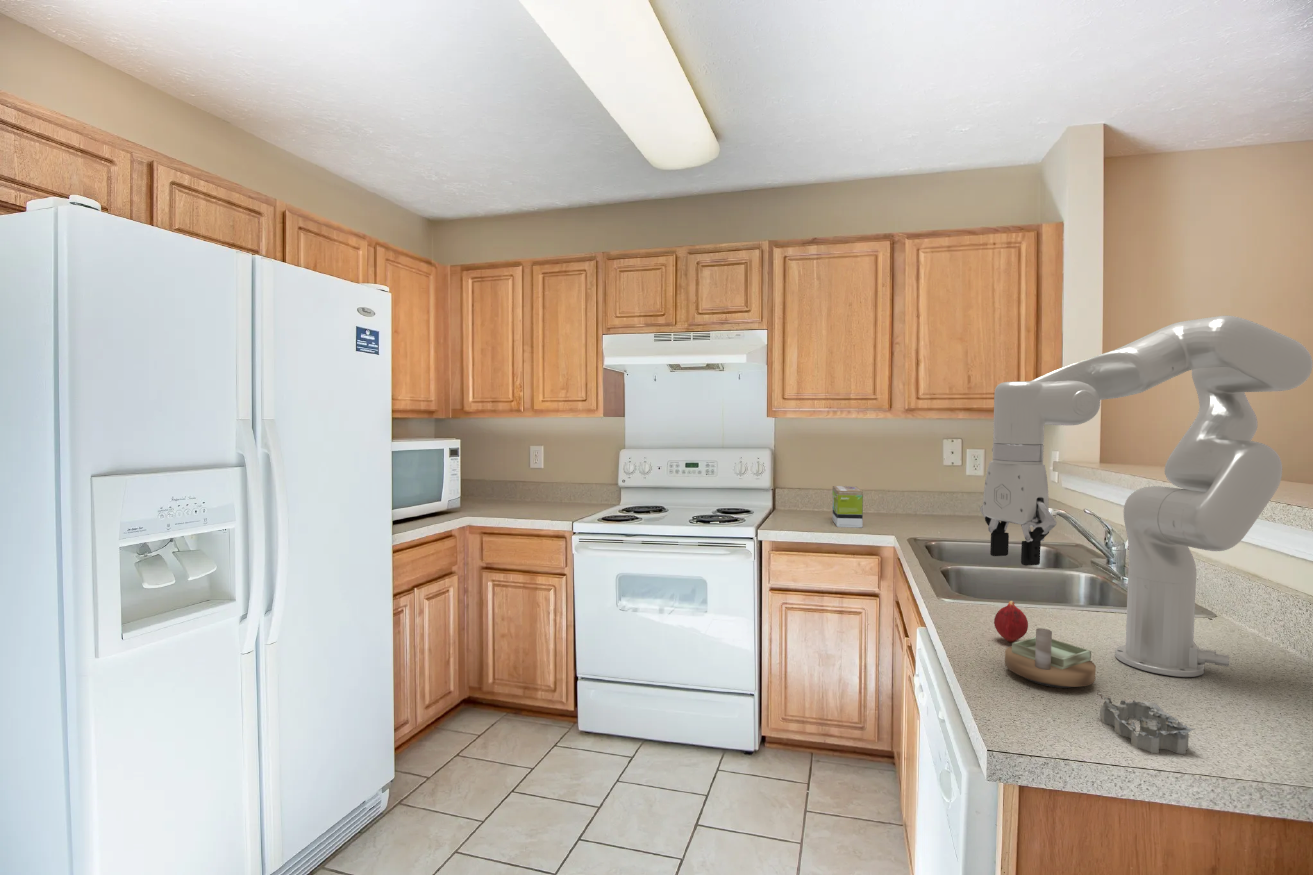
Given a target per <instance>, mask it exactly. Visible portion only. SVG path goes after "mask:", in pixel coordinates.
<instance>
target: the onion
mask: <svg viewBox="0 0 1313 875" xmlns="http://www.w3.org/2000/svg"><path fill="white" fill-rule="evenodd" d="M1024 613H1025V612H1023V611H1022V610H1021V609H1020V608H1018V607H1017V606H1016V604H1015V602H1014V601H1013V600H1010V601H1008V604H1007V605H1005V606H1004V607H1002V608H1000V609H999V610H998V611H997V612H996V613H995V616H994V619H993V620H994V621H993V624H994V628H995V629H996V632H997V633H998V634H999V635H1000V636H1001V637H1002V638H1003V639H1004V640H1006V641H1007V642H1008V643H1014V642H1017V641H1019V640H1020V639H1021V638H1023V637H1024V636H1025V635H1026V634H1027V632H1028V629H1029V620H1028V618H1027V616H1026V615H1025V614H1024Z"/></svg>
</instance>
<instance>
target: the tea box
mask: <svg viewBox="0 0 1313 875" xmlns="http://www.w3.org/2000/svg"><path fill="white" fill-rule="evenodd" d="M863 492H864V491H863V490H862V489H860V488H859V487H858V486H853V485H852V486H851V485H849V486H847V485H834V486H832V521H833V522H834V524H835V526H836V527H837V528H850V529H852V528H853V529H855V528H857V529H860V528H861V529H862V528H863V524H864V523H863V521H864V518H863V516H864V515H863V513H864V510H863V509H864V493H863Z"/></svg>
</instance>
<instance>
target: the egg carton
mask: <svg viewBox="0 0 1313 875" xmlns="http://www.w3.org/2000/svg"><path fill="white" fill-rule="evenodd" d="M1096 695H1097V696H1099V697H1100V699H1101V700H1103V699H1104V702H1103V705H1101V707H1100V709H1099V718H1100V719H1099V720H1100V722H1101V723H1103V724H1105V725H1110V726H1113V727H1114V732H1115V734H1118V735H1120V736H1123V737H1126V738H1129V739H1130V740H1131V741H1130V745H1131V746H1133V747H1134V748H1137V749H1142V750H1144V751H1146V752H1150V754H1159V753H1160V751H1159V750H1161V749H1163V750H1166V751H1170V752H1173V753H1176V754H1178V755H1179V754H1180V755H1186V751H1188V750H1189V736H1190V734H1189V733H1190V732H1192V731H1194V730H1195V728H1190V727H1188V726H1187V725H1186V724H1183V722H1182V721H1179V718H1178V717H1175V716H1172V715H1171V714H1170V713H1168V712H1166V711H1164V710H1163V709H1162V708H1161V706H1160V705H1158V704H1157V703H1155V702H1153V701H1137V700H1135V699H1134V700H1132V701H1131V702H1128V701H1126V700H1125V699H1122V700H1120V702H1119V704H1116V703H1115V704H1114V703H1113V701H1112V698H1111V697H1110V696H1107V695H1103V694H1102V692H1101V691H1098V692H1097V693H1096ZM1129 719H1135V720H1137V721H1139V725H1137V724H1135V722H1134V721H1130V722H1128V720H1129Z"/></svg>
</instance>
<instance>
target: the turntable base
mask: <svg viewBox="0 0 1313 875" xmlns="http://www.w3.org/2000/svg"><path fill="white" fill-rule="evenodd" d="M1023 678H1025V677H1023ZM1025 679H1026V680H1028V681H1030V682H1031V683H1035V684H1038V685H1042V686H1045V687H1050V688H1057V689H1069V688H1071V687H1070V686H1059V685H1052V684H1047V683H1042V682H1038V681H1034V680H1031V679H1028V678H1025Z"/></svg>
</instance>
